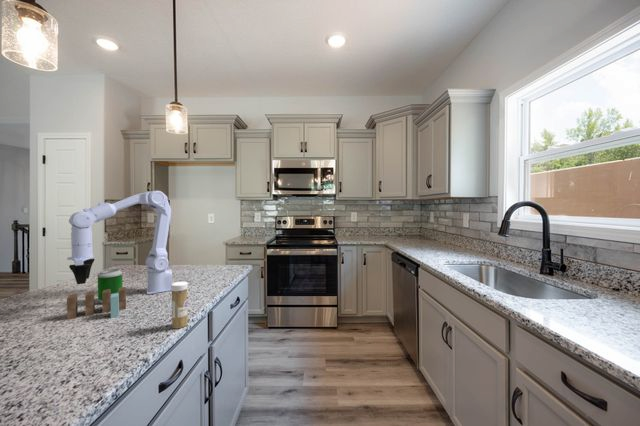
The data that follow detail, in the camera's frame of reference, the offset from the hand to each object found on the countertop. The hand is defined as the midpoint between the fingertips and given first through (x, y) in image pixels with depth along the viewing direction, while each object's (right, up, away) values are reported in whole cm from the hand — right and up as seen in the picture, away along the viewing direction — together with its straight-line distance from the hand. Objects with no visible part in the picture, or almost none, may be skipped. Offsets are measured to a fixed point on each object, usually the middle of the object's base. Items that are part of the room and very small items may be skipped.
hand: (83, 281), depth 96 cm
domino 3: (+11, -10, -2) cm, 15 cm away
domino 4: (+14, -10, 0) cm, 17 cm away
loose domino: (+17, -10, -6) cm, 21 cm away
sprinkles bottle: (+43, -10, -14) cm, 47 cm away
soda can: (+4, -10, +7) cm, 13 cm away
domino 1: (+3, -10, -8) cm, 13 cm away
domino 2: (+7, -10, -5) cm, 13 cm away
